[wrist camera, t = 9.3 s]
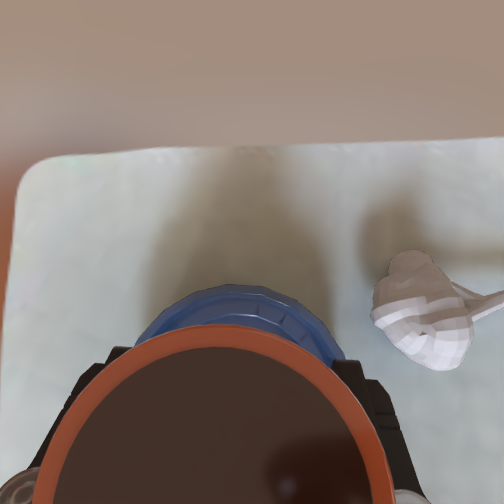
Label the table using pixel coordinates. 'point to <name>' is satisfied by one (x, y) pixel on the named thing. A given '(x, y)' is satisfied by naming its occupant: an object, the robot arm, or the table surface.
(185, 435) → the cup
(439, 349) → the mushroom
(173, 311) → the bowl
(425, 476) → the table surface
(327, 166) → the table surface
